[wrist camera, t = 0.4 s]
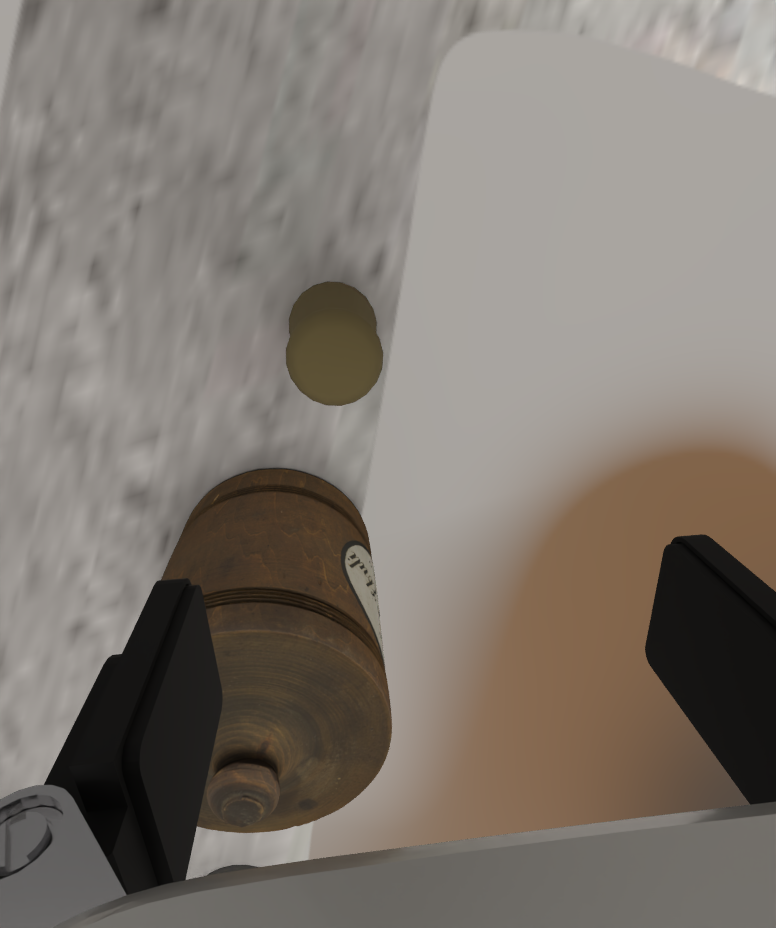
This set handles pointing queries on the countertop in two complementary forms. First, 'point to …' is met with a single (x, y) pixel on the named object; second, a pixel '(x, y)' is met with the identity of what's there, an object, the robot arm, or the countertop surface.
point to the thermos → (232, 869)
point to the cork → (333, 344)
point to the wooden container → (287, 649)
